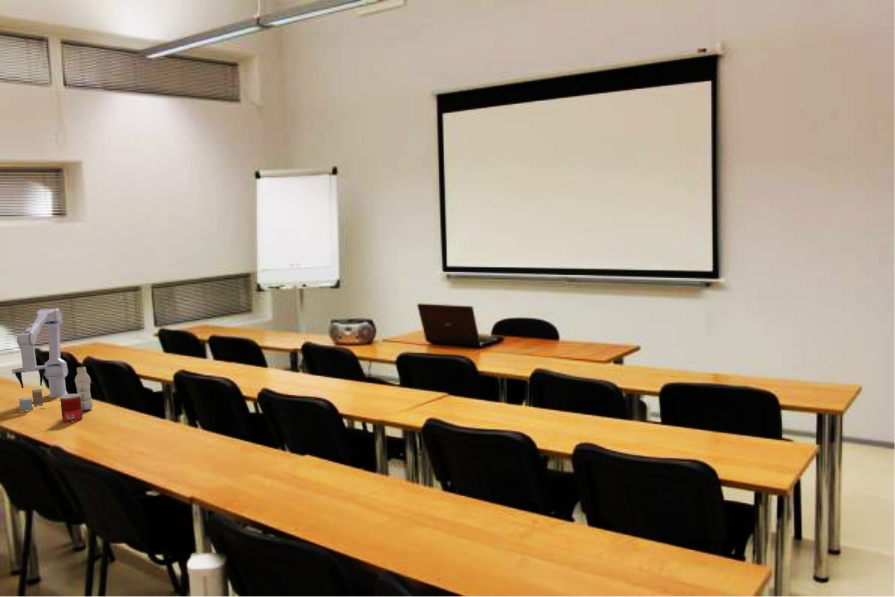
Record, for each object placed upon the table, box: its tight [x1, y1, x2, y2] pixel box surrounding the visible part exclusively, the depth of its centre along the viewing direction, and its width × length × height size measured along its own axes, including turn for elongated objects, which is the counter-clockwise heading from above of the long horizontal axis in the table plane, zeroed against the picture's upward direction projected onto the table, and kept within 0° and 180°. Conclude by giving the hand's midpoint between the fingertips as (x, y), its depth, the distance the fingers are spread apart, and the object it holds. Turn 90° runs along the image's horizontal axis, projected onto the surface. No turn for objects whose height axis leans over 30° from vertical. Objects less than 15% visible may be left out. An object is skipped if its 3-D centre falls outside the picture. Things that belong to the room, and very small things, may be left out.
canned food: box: [59, 393, 83, 423], centre depth 333 cm, size 8×8×11 cm
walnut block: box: [31, 388, 44, 407], centre depth 364 cm, size 6×4×7 cm, turn 29°
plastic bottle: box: [74, 366, 94, 412], centre depth 349 cm, size 6×7×20 cm
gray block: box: [18, 396, 34, 412], centre depth 356 cm, size 5×5×5 cm
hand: (31, 386), depth 359 cm, fingers open, 7 cm apart
